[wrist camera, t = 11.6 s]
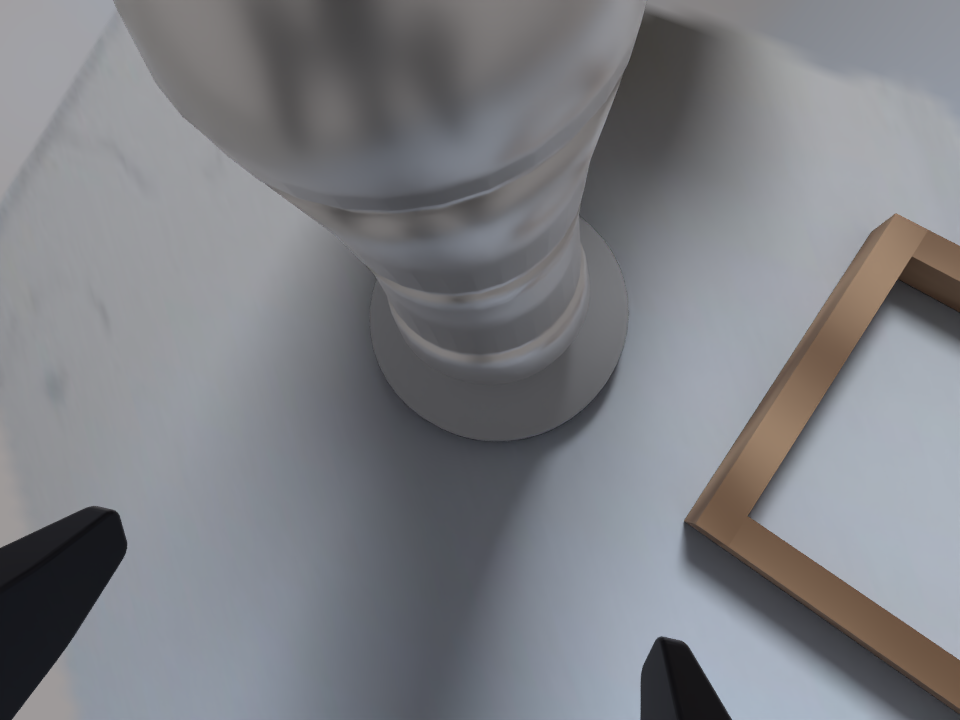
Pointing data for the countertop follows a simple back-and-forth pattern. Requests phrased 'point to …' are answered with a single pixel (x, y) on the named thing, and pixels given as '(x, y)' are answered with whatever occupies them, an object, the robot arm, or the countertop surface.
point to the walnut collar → (782, 417)
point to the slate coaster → (523, 401)
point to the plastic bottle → (417, 146)
